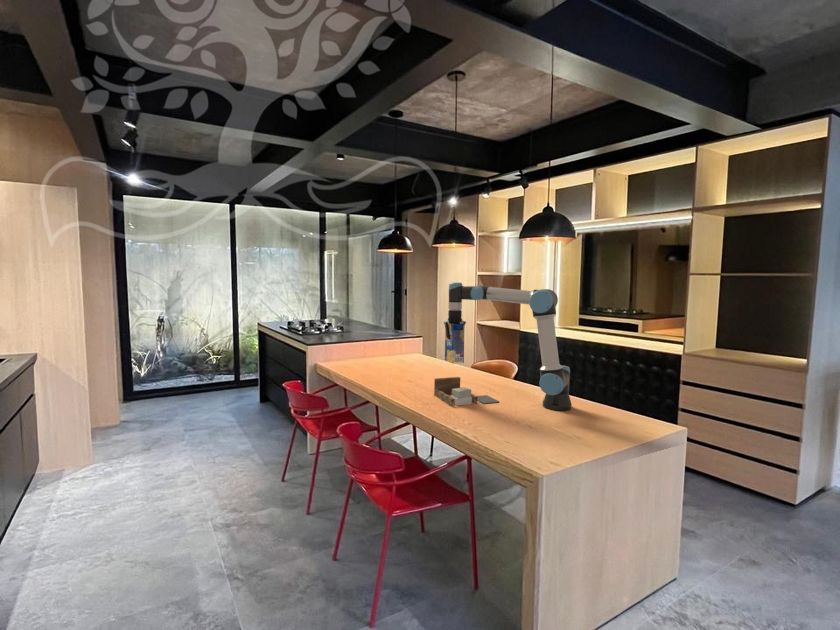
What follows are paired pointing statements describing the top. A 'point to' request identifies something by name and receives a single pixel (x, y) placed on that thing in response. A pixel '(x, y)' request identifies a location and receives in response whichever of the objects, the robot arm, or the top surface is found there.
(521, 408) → the top surface
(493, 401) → the mat
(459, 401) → the offcut low
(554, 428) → the top surface
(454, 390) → the offcut top
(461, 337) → the beverage box
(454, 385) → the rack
